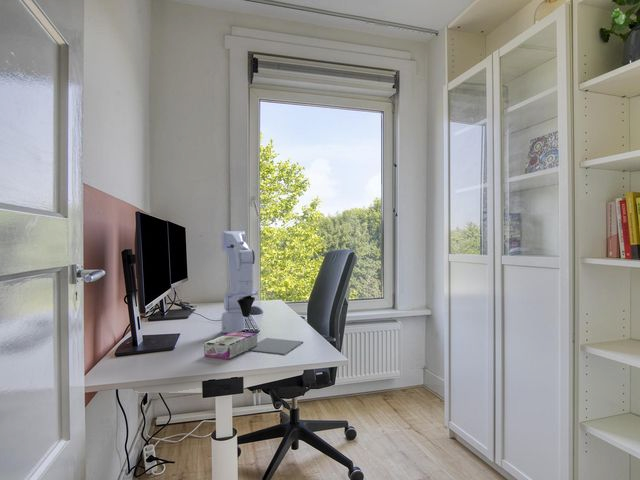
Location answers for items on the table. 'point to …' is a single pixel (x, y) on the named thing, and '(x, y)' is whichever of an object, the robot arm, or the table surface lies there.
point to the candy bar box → (230, 344)
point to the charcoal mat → (276, 346)
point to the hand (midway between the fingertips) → (246, 316)
